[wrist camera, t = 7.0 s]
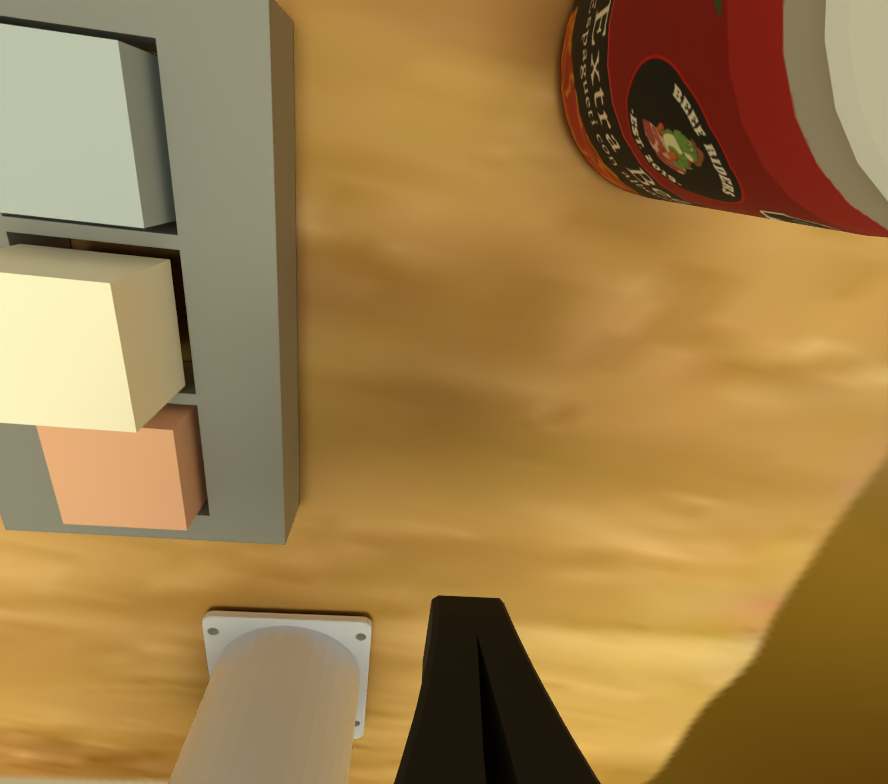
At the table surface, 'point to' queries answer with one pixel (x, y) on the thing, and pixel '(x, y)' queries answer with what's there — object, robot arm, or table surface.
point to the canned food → (736, 104)
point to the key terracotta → (129, 472)
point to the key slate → (82, 130)
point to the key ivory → (86, 338)
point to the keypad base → (202, 255)
